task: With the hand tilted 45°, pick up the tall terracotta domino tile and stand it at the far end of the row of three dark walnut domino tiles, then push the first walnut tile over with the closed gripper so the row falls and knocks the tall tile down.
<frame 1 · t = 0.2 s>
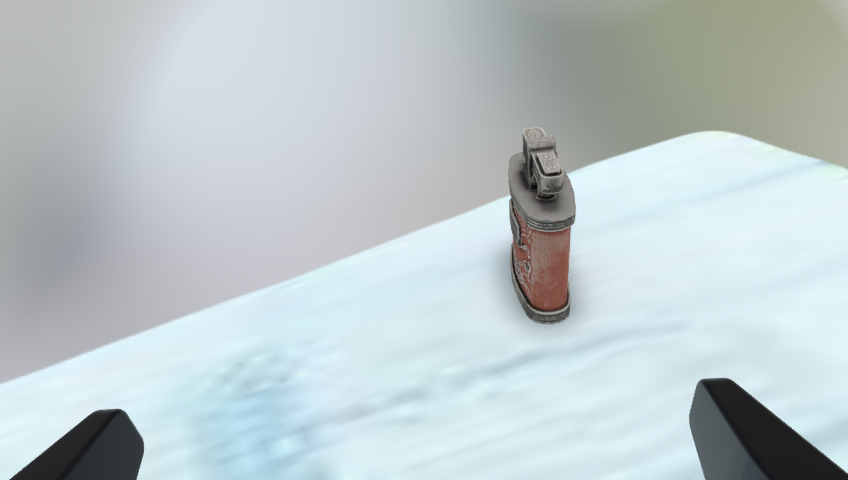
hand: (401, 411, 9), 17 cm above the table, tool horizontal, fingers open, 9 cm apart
lighter: (538, 283, 36), on the table
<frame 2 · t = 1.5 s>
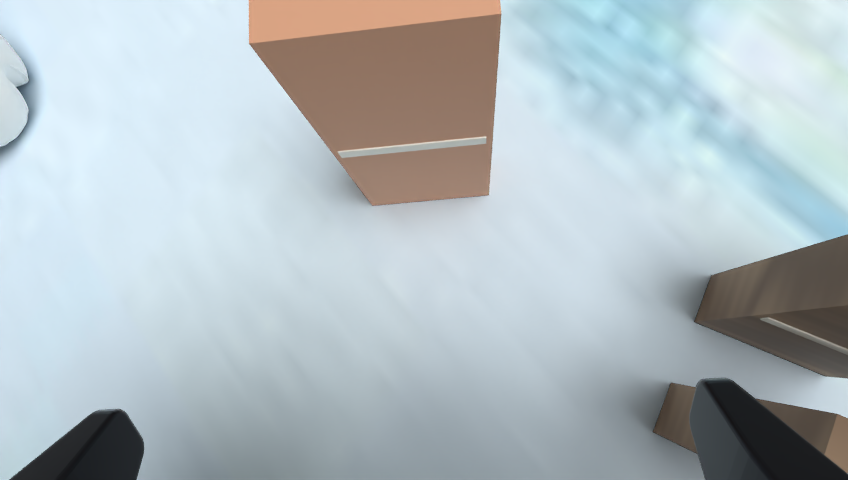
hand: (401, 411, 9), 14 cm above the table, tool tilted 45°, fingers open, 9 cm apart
end tile: (428, 180, 24), on the table
tile 2: (727, 436, 21), on the table
tile 3: (767, 324, 21), on the table
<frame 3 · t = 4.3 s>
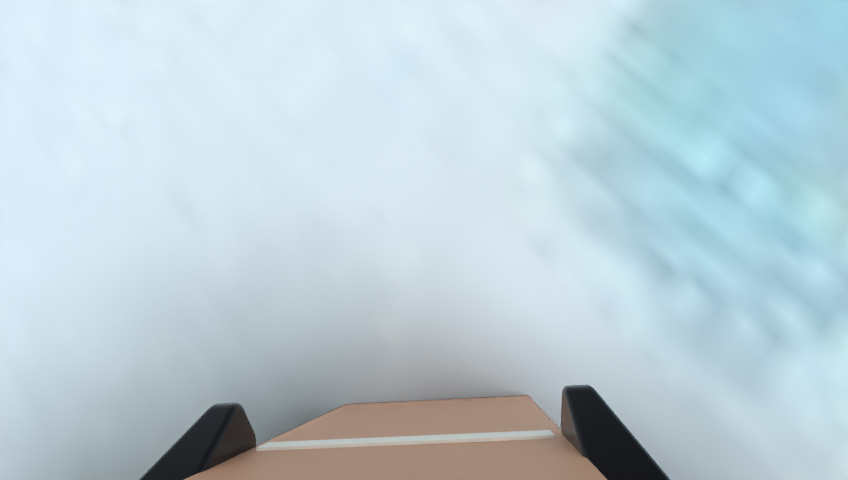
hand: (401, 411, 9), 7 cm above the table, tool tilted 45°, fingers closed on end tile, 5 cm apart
end tile: (437, 434, 15), on the table, touching gripper
when the fingers open (8 cm above the table, at t = 9.0 s): end tile drops 1 cm, on the table.
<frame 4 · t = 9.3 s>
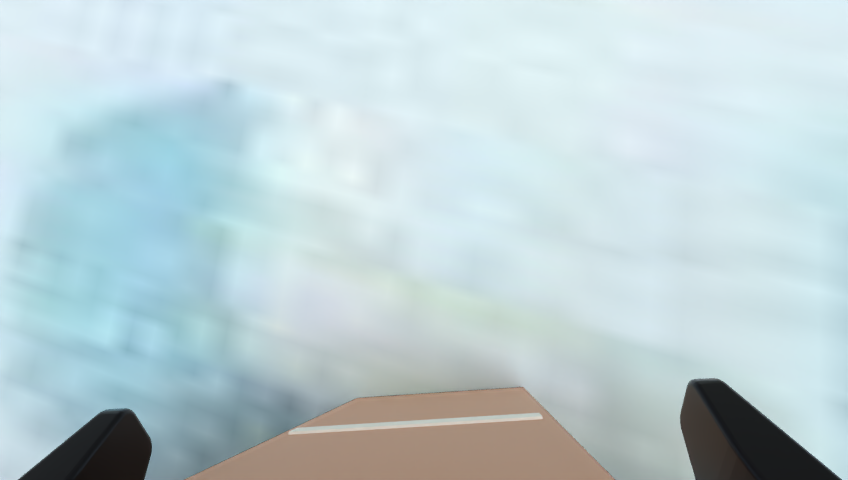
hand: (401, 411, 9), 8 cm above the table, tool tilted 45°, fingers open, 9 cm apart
end tile: (441, 423, 16), on the table
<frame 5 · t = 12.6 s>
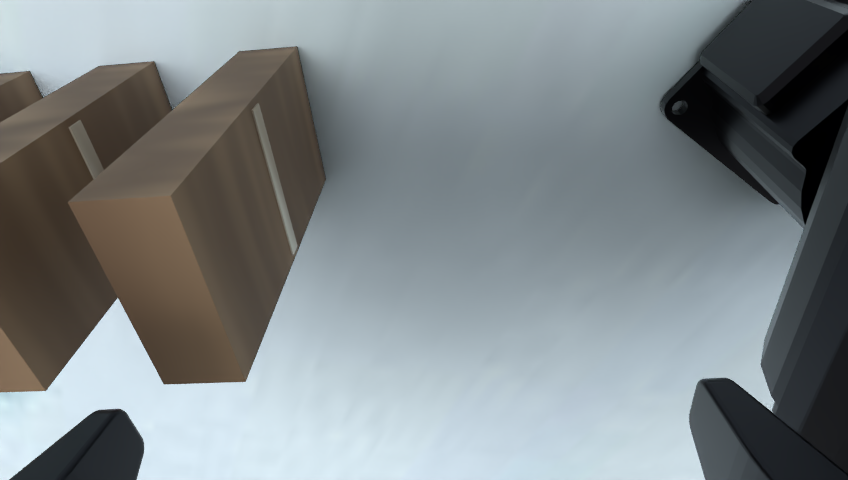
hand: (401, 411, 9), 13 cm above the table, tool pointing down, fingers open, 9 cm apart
tile 1: (285, 119, 20), on the table
tile 2: (153, 131, 20), on the table
tile 3: (37, 139, 21), on the table
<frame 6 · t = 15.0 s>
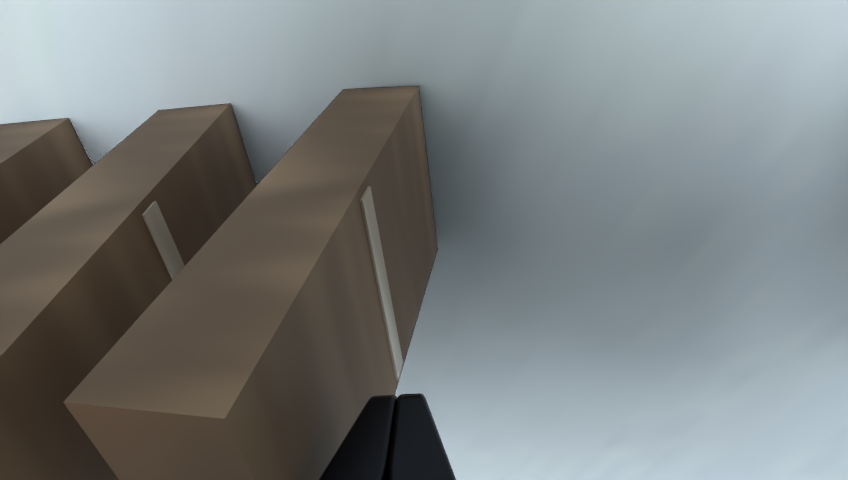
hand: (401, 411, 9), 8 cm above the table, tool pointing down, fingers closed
tile 1: (393, 175, 15), on the table, tilted 9°
tile 2: (223, 189, 16), on the table
tile 3: (76, 200, 16), on the table
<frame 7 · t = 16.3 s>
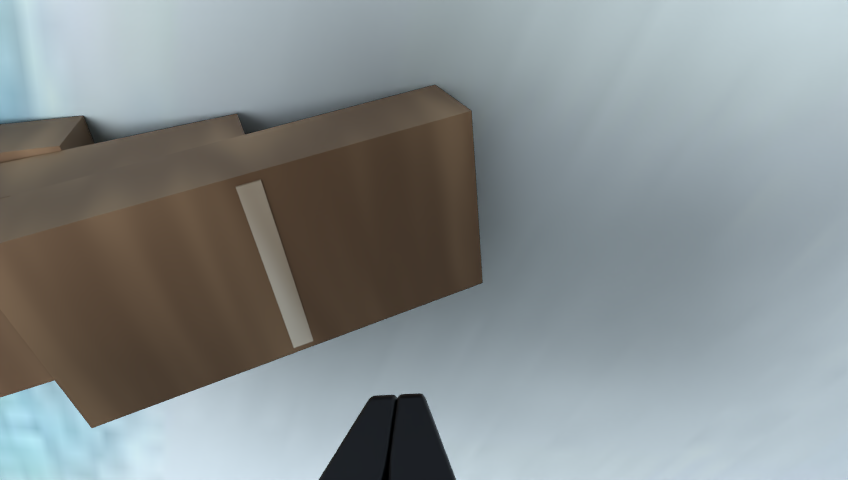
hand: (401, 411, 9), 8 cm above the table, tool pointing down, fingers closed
tile 1: (459, 188, 14), point 1 cm above the table, tilted 66°, touching tile 2
tile 2: (266, 213, 15), point 1 cm above the table, tilted 66°, touching tile 1, tile 3
tile 3: (107, 214, 15), point 1 cm above the table, tilted 76°, touching tile 2
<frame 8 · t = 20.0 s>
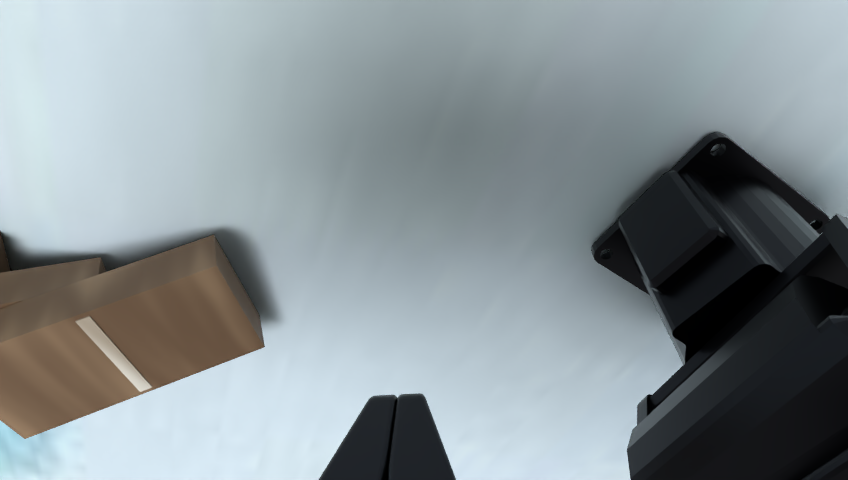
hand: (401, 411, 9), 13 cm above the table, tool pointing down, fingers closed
tile 1: (240, 293, 23), point 1 cm above the table, tilted 70°, touching tile 2
tile 2: (115, 315, 24), point 1 cm above the table, tilted 68°, touching tile 1, tile 3
tile 3: (4, 291, 24), point 1 cm above the table, tilted 74°, touching tile 2
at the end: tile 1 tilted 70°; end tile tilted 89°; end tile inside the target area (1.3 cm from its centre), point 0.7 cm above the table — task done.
